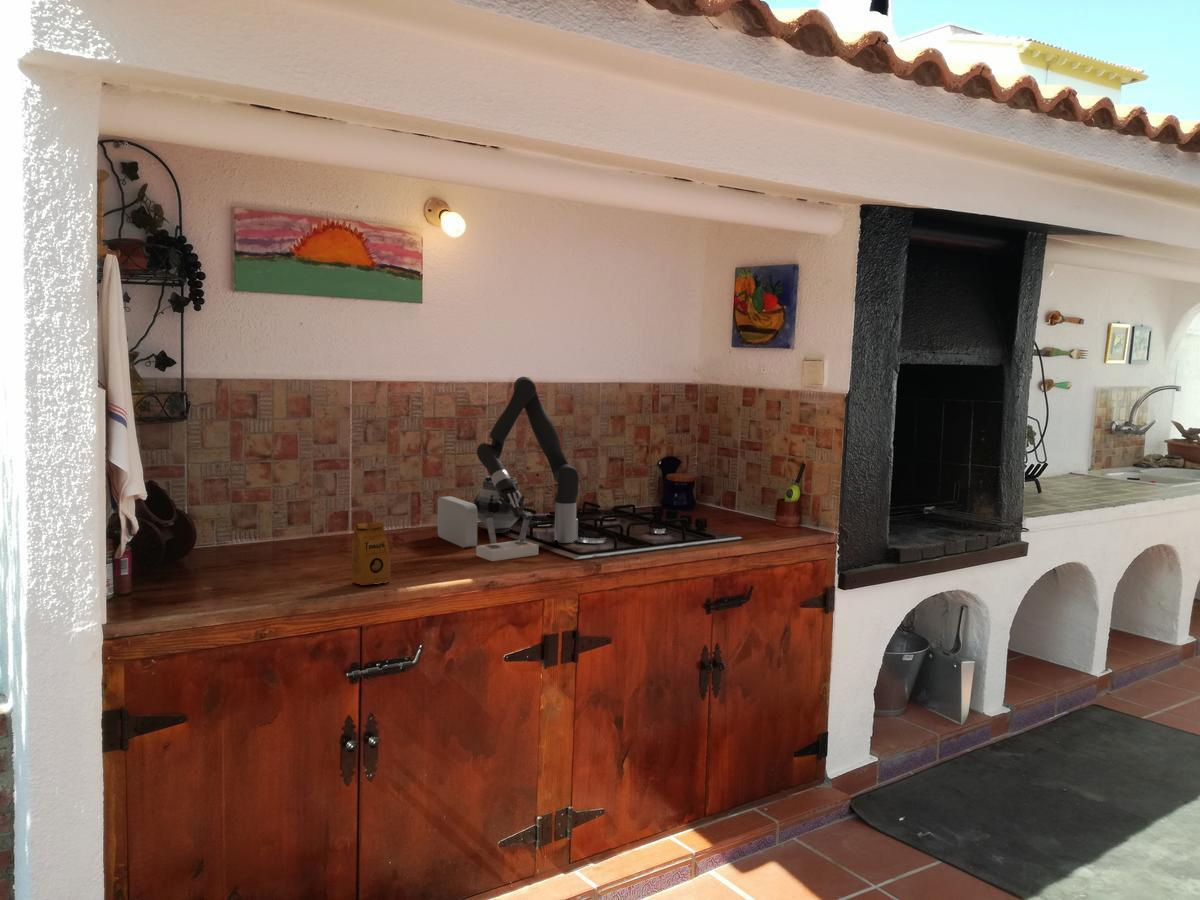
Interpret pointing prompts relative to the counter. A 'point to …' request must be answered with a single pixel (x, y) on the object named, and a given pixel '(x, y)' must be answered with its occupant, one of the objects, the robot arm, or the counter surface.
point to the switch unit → (507, 550)
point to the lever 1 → (490, 527)
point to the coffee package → (370, 554)
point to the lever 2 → (525, 525)
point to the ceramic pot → (495, 506)
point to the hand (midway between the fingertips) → (519, 516)
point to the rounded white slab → (457, 521)
